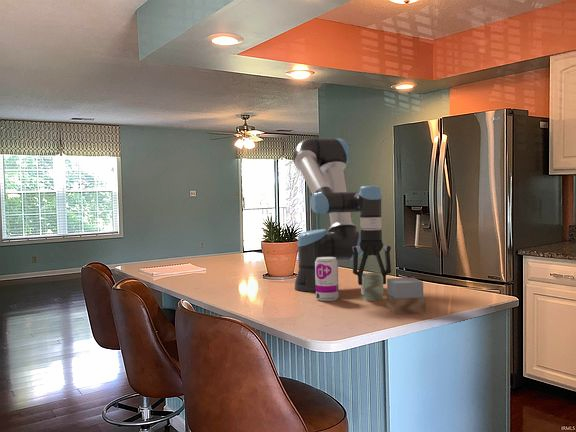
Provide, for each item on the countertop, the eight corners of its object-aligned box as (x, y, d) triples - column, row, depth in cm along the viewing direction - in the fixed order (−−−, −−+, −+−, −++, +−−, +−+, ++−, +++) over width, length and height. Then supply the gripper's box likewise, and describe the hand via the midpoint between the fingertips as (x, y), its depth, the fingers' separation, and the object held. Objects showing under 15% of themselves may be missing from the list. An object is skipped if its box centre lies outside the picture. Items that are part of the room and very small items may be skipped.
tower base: (394, 315, 162) (393, 299, 162) (386, 308, 172) (386, 293, 172) (425, 314, 162) (425, 298, 162) (416, 307, 172) (416, 292, 172)
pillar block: (365, 300, 183) (365, 275, 182) (362, 297, 189) (362, 272, 188) (382, 300, 183) (382, 275, 183) (378, 296, 189) (378, 272, 189)
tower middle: (395, 299, 162) (395, 283, 162) (387, 293, 171) (387, 278, 171) (423, 297, 163) (423, 282, 163) (413, 292, 172) (413, 277, 172)
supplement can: (332, 302, 182) (331, 259, 181) (311, 300, 186) (310, 258, 185) (342, 298, 189) (341, 257, 188) (322, 296, 193) (321, 256, 192)
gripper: (346, 230, 181) (347, 296, 182) (400, 229, 182) (401, 294, 183) (342, 229, 188) (344, 292, 189) (394, 227, 189) (395, 290, 190)
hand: (372, 293), depth 186 cm, fingers closed on pillar block, 6 cm apart
